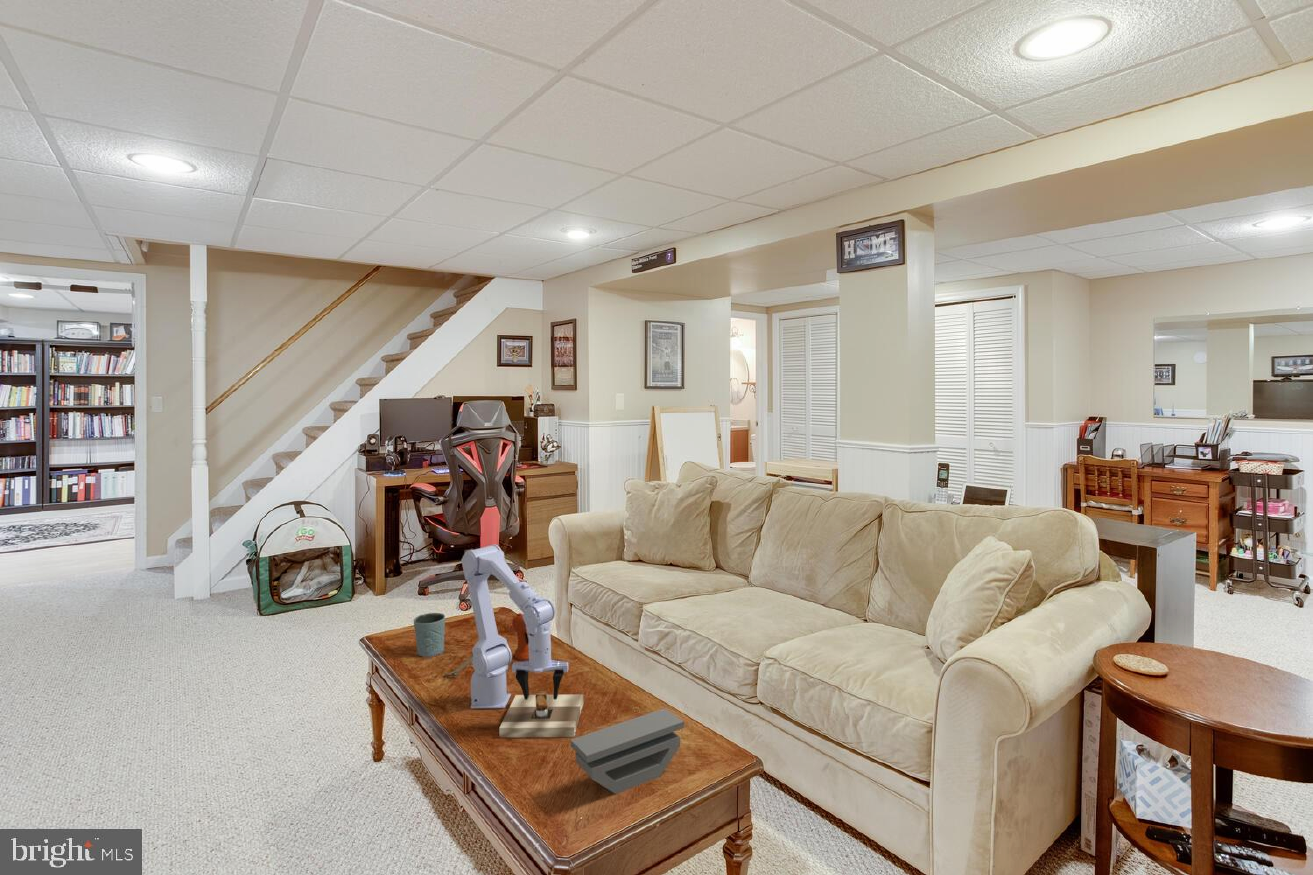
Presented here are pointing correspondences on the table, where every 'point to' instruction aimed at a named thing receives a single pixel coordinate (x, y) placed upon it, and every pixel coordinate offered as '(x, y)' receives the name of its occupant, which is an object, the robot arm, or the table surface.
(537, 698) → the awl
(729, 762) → the table surface
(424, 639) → the teal cup
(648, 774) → the grey tapered block
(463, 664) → the tomahawk
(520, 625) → the toy drill
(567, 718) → the board
